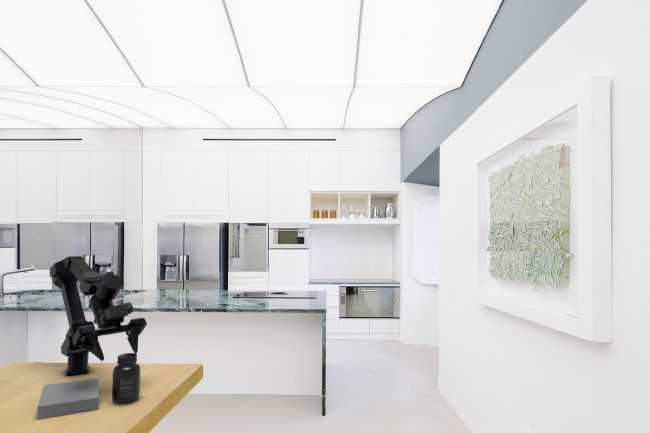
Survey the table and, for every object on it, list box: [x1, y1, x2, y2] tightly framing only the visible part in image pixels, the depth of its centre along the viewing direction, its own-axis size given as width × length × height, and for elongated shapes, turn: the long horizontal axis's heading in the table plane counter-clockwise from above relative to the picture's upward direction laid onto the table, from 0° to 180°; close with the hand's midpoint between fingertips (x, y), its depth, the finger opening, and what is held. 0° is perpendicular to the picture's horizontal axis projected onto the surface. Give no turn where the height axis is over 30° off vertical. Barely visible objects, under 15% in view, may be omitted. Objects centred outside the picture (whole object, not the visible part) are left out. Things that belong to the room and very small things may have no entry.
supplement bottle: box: [111, 352, 141, 405], centre depth 112 cm, size 7×7×12 cm
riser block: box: [36, 377, 100, 420], centre depth 109 cm, size 16×13×3 cm
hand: (120, 356), depth 114 cm, fingers open, 9 cm apart
